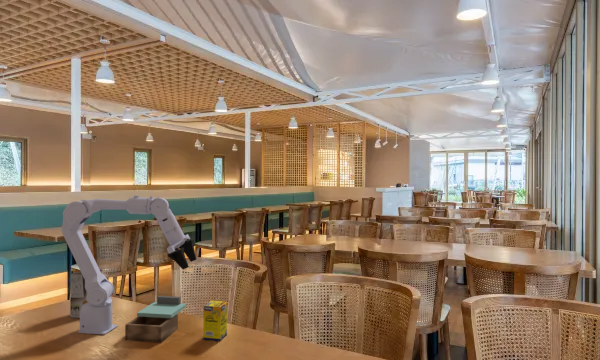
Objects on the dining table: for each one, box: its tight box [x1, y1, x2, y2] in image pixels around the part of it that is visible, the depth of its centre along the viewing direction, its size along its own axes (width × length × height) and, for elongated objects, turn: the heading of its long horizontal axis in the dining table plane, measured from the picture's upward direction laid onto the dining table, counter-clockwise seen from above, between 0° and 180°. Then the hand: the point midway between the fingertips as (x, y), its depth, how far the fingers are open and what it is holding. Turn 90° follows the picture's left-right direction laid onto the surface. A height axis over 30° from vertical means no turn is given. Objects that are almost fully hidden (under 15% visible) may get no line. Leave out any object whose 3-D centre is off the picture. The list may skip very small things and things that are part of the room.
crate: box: [124, 313, 179, 344], centre depth 137 cm, size 12×12×5 cm
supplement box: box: [202, 300, 228, 342], centre depth 135 cm, size 6×6×11 cm
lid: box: [136, 295, 187, 318], centre depth 144 cm, size 12×12×4 cm
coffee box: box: [69, 268, 103, 319], centre depth 156 cm, size 9×6×16 cm
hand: (189, 264), depth 146 cm, fingers open, 7 cm apart
